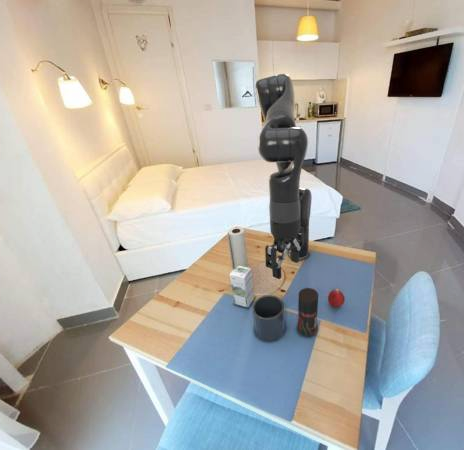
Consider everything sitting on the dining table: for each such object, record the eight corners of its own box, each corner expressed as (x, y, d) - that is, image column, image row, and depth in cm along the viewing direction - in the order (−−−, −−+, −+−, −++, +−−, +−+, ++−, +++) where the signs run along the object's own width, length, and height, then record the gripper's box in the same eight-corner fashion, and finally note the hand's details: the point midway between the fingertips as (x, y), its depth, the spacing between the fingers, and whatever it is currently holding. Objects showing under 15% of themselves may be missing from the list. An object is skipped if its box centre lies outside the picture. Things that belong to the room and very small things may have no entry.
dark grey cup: (261, 313, 88) (259, 292, 83) (287, 319, 86) (287, 298, 81) (250, 337, 80) (247, 315, 75) (279, 344, 77) (278, 322, 72)
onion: (333, 314, 87) (335, 297, 83) (324, 303, 91) (325, 287, 87) (346, 308, 89) (349, 291, 85) (336, 298, 94) (338, 281, 90)
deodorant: (315, 337, 79) (317, 303, 72) (296, 334, 80) (297, 300, 73) (317, 322, 84) (319, 289, 77) (299, 319, 85) (300, 286, 78)
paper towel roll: (246, 267, 111) (241, 225, 100) (250, 275, 106) (245, 232, 96) (230, 272, 108) (223, 229, 98) (234, 280, 103) (227, 236, 93)
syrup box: (254, 297, 95) (251, 267, 88) (247, 308, 90) (243, 277, 83) (241, 293, 97) (237, 264, 90) (233, 305, 92) (228, 274, 85)
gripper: (288, 203, 68) (289, 253, 75) (254, 222, 58) (259, 278, 65) (312, 208, 64) (311, 260, 71) (280, 230, 54) (282, 289, 61)
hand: (286, 269), depth 68 cm, fingers open, 8 cm apart
